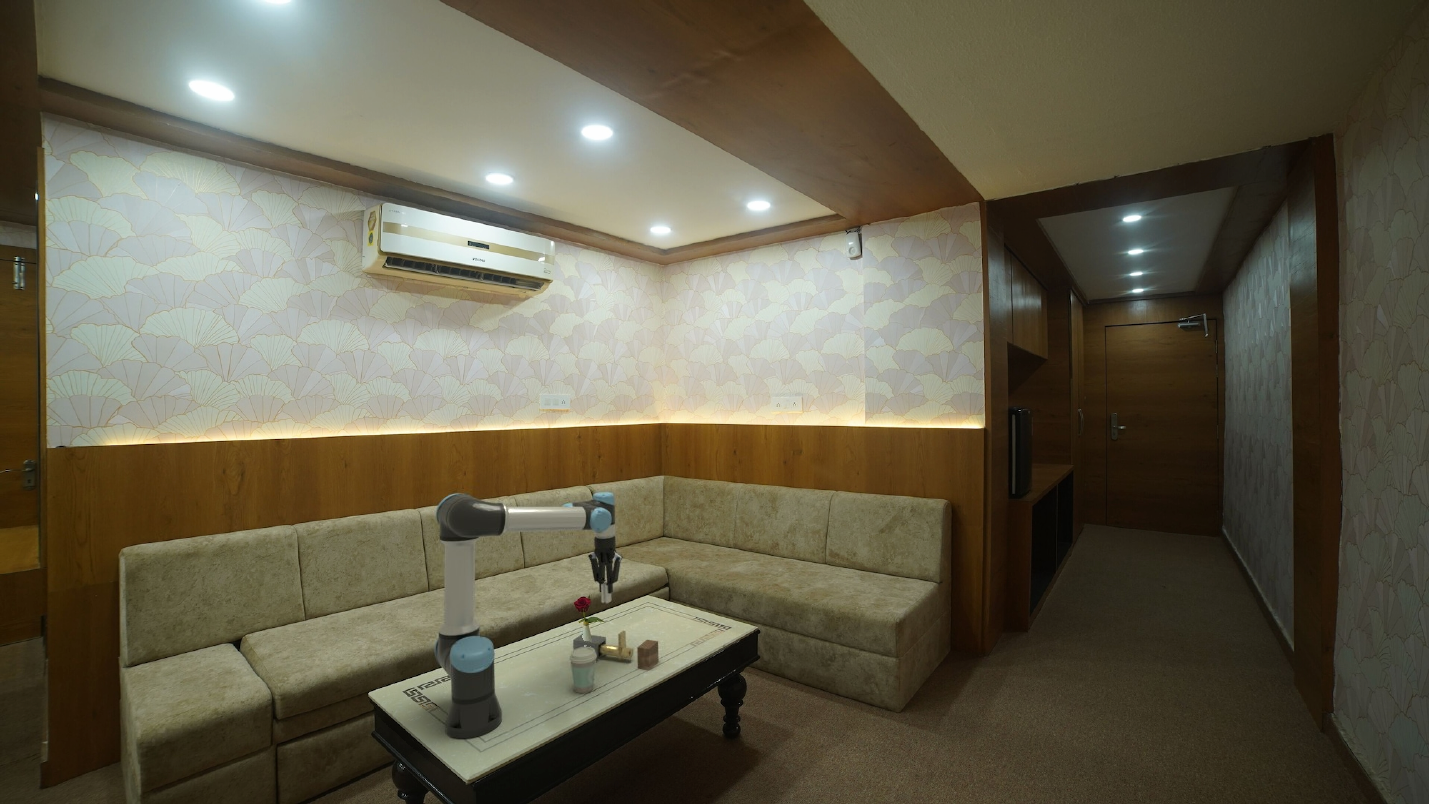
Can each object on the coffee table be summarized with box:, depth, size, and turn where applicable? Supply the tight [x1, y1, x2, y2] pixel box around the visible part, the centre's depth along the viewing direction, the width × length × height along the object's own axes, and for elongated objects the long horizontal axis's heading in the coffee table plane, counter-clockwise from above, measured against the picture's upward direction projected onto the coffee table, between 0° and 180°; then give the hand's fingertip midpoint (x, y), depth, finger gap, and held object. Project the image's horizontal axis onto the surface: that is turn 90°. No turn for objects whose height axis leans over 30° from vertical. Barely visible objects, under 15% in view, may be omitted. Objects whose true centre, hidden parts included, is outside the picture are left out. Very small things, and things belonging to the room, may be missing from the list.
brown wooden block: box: [636, 639, 659, 671], centre depth 209 cm, size 4×7×7 cm, turn 159°
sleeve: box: [572, 633, 607, 662], centre depth 217 cm, size 10×6×6 cm, turn 69°
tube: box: [598, 630, 634, 660], centre depth 215 cm, size 23×3×9 cm, turn 69°
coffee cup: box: [569, 647, 597, 694], centre depth 192 cm, size 9×8×12 cm
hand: (606, 601), depth 214 cm, fingers closed
